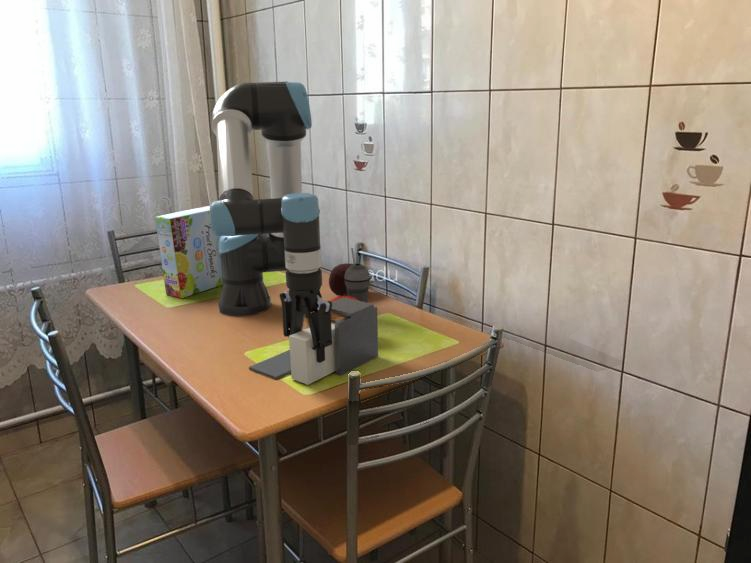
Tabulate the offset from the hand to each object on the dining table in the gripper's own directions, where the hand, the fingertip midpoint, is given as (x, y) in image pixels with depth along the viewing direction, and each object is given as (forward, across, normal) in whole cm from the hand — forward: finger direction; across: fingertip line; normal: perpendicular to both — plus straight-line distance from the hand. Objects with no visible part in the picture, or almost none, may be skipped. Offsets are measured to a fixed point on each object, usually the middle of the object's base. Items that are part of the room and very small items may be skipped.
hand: (309, 371), depth 137 cm
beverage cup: (+2, -17, +36) cm, 40 cm away
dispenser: (+2, 0, +12) cm, 12 cm away
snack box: (+2, -78, +27) cm, 83 cm away
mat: (+2, -10, +3) cm, 11 cm away
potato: (+2, -33, +50) cm, 60 cm away
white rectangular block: (+1, 0, +4) cm, 4 cm away
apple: (+2, -10, +23) cm, 25 cm away
